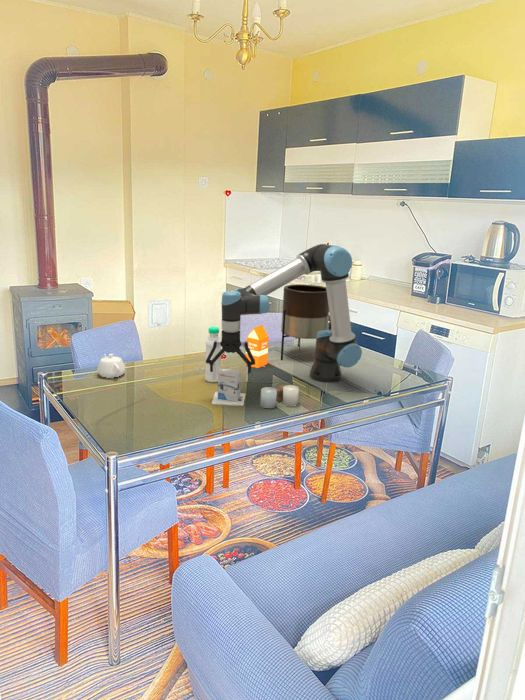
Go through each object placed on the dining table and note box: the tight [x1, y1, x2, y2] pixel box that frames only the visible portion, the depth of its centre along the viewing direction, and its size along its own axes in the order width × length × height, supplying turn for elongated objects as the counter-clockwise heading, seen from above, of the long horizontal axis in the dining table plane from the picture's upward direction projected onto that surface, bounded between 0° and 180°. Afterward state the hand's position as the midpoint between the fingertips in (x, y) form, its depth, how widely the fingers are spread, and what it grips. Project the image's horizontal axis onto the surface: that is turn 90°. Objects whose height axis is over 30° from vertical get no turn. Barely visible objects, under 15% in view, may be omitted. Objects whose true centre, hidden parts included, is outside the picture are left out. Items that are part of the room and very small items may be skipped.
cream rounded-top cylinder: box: [281, 384, 300, 407], centre depth 212 cm, size 6×6×7 cm
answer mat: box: [211, 391, 246, 407], centre depth 214 cm, size 13×13×1 cm
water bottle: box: [204, 326, 222, 383], centre depth 232 cm, size 7×7×25 cm
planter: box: [280, 283, 331, 361], centre depth 274 cm, size 27×26×38 cm
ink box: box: [217, 368, 242, 401], centre depth 212 cm, size 9×5×12 cm, turn 72°
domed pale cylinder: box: [259, 386, 277, 409], centre depth 208 cm, size 6×6×7 cm
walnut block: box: [272, 385, 285, 402], centre depth 217 cm, size 5×5×5 cm
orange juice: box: [245, 324, 269, 369], centre depth 259 cm, size 8×9×20 cm
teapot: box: [96, 353, 126, 379], centre depth 235 cm, size 20×12×10 cm, turn 34°
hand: (230, 379), depth 212 cm, fingers open, 13 cm apart
